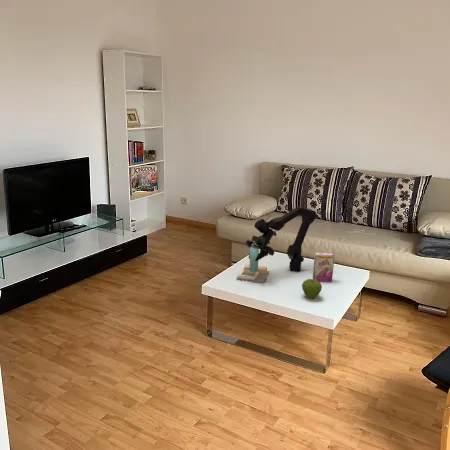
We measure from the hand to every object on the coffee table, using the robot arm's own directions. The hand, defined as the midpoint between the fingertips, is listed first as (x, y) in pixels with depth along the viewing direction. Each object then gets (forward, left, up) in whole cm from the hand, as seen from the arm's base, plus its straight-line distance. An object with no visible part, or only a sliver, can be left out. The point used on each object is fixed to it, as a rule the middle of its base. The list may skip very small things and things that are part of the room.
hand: (252, 259), depth 280 cm
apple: (-36, +11, -13) cm, 40 cm away
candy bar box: (-39, -15, -13) cm, 44 cm away
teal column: (-1, -1, -7) cm, 7 cm away
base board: (+1, -7, -13) cm, 15 cm away
